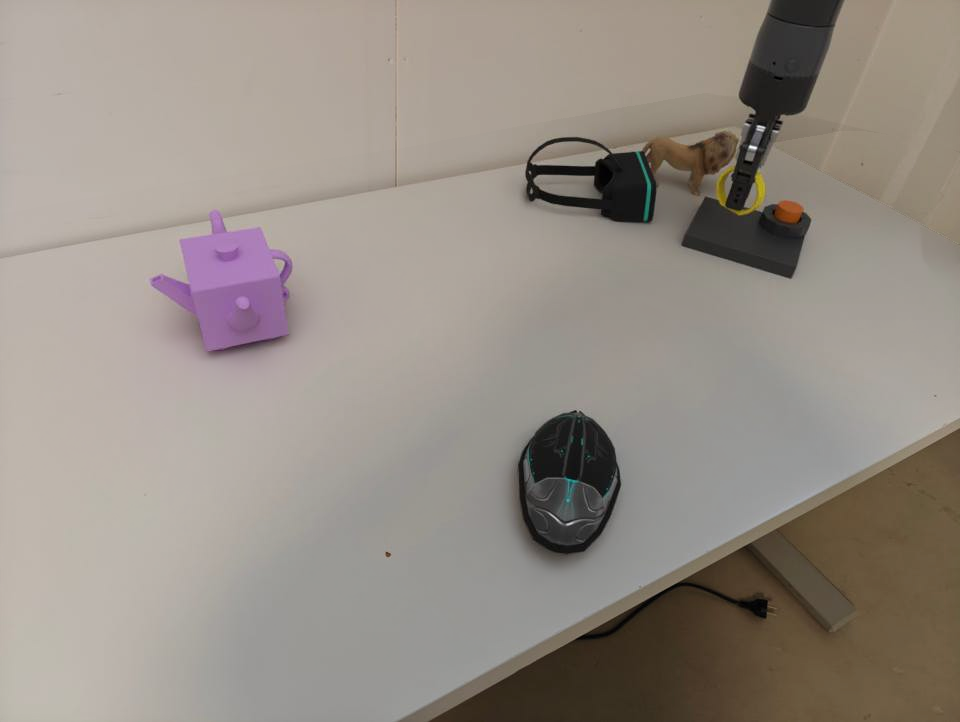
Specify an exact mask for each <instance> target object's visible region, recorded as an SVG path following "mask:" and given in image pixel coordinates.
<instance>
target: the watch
mask: <svg viewBox="0 0 960 722" xmlns="http://www.w3.org/2000/svg"><path fill="white" fill-rule="evenodd" d="M734 169H735V165H733V166H732V167H729V168H728V169H726V170H725V171H724V172H722V173H721V174H720V176H719V178H718V180H717V182H716V192H715V194H716V197H717V198H716V199H717V200H719V203H720V204H721V206H724V207H726V206H725V203H726V200H727V197H728V196H727V195H726V192H725V187H726V181H727V179H728V177H729V175H730V174H732V172H734ZM740 171H743V170H740ZM743 172H746V171H743ZM761 172H762V167H761V168H760V167H759V169H758V172H757V174H756V177H755V178H756V181H755V182H754V184H755V185H756V186H755V187H756V198H755V200H754V203H753V205H752V206H751V207H749V209H747V210H743V209H742V210H741V211H736V210H733V209H729V208H728V209H729V210H731V211H732V212H734V213H736V214H737V215H744V214H748V213H750V212H752V211H754V210H756V209H758V208H759V207H760V206H762V204H763V201H764V198H765V196H766V183H765V180H764V178H763V177H762V175H761ZM747 173H750V172H747ZM726 208H727V207H726Z"/></svg>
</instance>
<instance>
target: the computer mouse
mask: <svg viewBox="0 0 960 722" xmlns="http://www.w3.org/2000/svg"><path fill="white" fill-rule="evenodd" d="M517 468H518V469H517V470H518V472H517V473H518V494H519V497H518V498H519V503H520V508H521V513H522V514H521V515H522V518H523V522H524V523H525V526H526V528H527V530H528V532H529V534H530V537H531V539H532V540H533V542H535V543H536V544H539V545H540V546H542V547H543V548H544V549H546V550H548V551H550V552H553V553H555V554H561V555H570V554H577V553H583V552H586V550H587V549H589V547H590V546H592V544H594V542H595V541H596V540H597V539H598V538H599V537H601V535H602V533H603V531H604V530H605V528H606V526H607V524H608V523H609V521H610V519H611V516H612V514H613V511H614V508H615V504H616V502H617V499H618V496H619V493H620V491H621V487H622V481H621V473H620V472H621V471H620V467H619V464H618V461H617V454H616V448H615V446H614V444H613V441H612V440H611V439H610V437H609V435H608V434H607V432H606V431H605V430H604V428H603V427H602V426H601V425H600V424H599V423H598V422H597V421H596V420H595V419H594V418H592V417H590V416H587V415H586V414H585V413H583V412H582V411H581V410H579V411H578V410H577V409H575V410H572V411H569V412H563V413H560V414H558V415H556V416H553V417H551V418H550V419H549V420H547V421H545V422H544V423H543V424H542V425H541V426H540V427H538V429H537V430H536V432H535V433H534V435H532V437H531V438H530V440H529V441H528V442H527V444H526V445H525V446H524V447H523V450H522V452H521V455H520V458H519V461H518V464H517Z"/></svg>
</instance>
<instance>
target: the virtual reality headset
mask: <svg viewBox="0 0 960 722" xmlns="http://www.w3.org/2000/svg"><path fill="white" fill-rule="evenodd" d="M568 142H569V143H570V142H578V143H585V144H590V145H594V146H597V147H598V148H600V149H603V150H604V151H605V152H606V153H608V154H607V155H606V156H605V157H604V158H598V159H597V160H596V161H595V163H594V165H563V164H561V165H557V164H553V165H552V164H536V163H534V164H533V163H532V162H531V161H532V160H533V159H534V157H535V156H536V155H537V154H538V153H540V152H541V151H542V150H544V149H545V148H547V147H548V146H551V145H554V144H558V143H568ZM650 168H651V165H650V163H648V161H647V158H646V153H644V151H642V150H637V151H626V152H625V151H624V152H613V153H612V151H611V150H610V149H609V148H608V147H606V146H605V145H604V144H602V143H601V142H598V141H597V140H593V139H590V138H585V137H580V136H567V137H566V136H565V137H563V136H562V137H557V138H553V139H549V140H546V141H545V142H543V143H542V144H540V145H539V146H538V147H536V149H535V150H534V151H532V153H531V154H530V156H529V157H528V159H527V161H526V166H525V170H524V175H525V179H526V182H527V183H526V187H525V193H526V195H527V198H528V200H529V202H534V201H536V200H541V201H543V202H546V203H548V204H551V205H558V206H561V207H562V206H563V207H571V208H582V209H591V210H592V209H593V210H600V214H601V216H603V217H604V218H606V217H609V218H612V220H613V221H615V222H652V221H653V220H654V214H655V206H656V198H657V190H658V189H657V188H658V187H657V185H656V181H657V180H656V179H655V175H654V176H653V174H652V171H651V169H650ZM538 176H571V177H593V186H594V188H595V189H596V190H597V191H599V192H600V193H602V194H601V198H593V197H592V198H591V197H583V196H582V197H581V196H569V195H561V194H560V195H559V194H555V193H551V192H548V191H546V190H542V189H541V187H540V186H538V185H536V183H535V181H534V180H535V179H536V178H537V177H538ZM531 191H532V192H531Z"/></svg>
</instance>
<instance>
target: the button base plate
mask: <svg viewBox="0 0 960 722" xmlns="http://www.w3.org/2000/svg"><path fill="white" fill-rule="evenodd" d="M777 205H778V203H771V204H769V205H766V206H764V207H763V210H762V211H760V210H756V209H755V210H754V211H752V212H750V213H748V214H744V215H737V214H736V213H734V212H732V211H731V210H729V209H728V208H726V207H724V206H721V204H720V203H719V200H718V198H714V197H709V196H704V198H703V200H702V201H701V204H700V205H699V207H698V209H697V210H696V212H695V215H694V217H693V218H692V221H691V222H690V224H689V226H688V227H687V229H686V231H685V233H684V236H683V239H682V242H681V247H682V248H686V249H690V250H693V251H695V252H701V253H702V254H707V255H709V256H714V257H716V258H720V259H723V260H726V261H730V262H734V263H736V264H739V265H744V266H747V267H750V268H753V269H757V270H760V271H762V272H766V273H770V274H773V275H776V276H780V277H782V278H783V277H784V278H787V279H790V280H792V279H793V276H794V274H795V271H796V270H797V267H798V263H799V261H800V256H801V252H802V248H803V245H804V241H805V237H806V235H807V233H808V231H809V229H810V226H811V223H812V218H811V217H810V216H809V215H808V213H807V212H805V211H803V212H802V214H801V217H800V219H799V221H798V222H797V223H788V222H784V221H781V220H779V219H777V218H775V217H774V213H775V210H776V208H777ZM747 209H750V207H746V206H744V208H743V210H747Z"/></svg>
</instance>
